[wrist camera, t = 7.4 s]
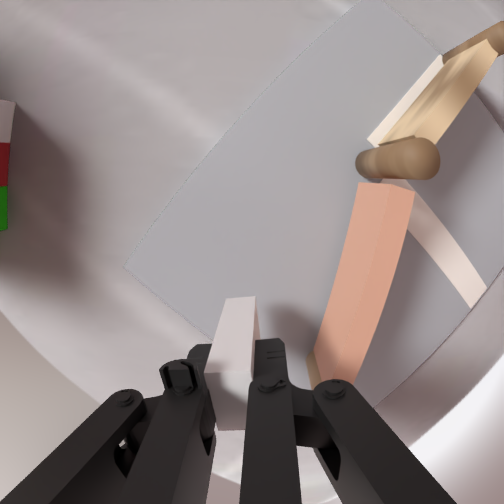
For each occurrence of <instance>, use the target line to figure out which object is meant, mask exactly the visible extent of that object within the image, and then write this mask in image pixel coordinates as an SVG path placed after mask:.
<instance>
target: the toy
mask: <svg viewBox="0 0 504 504" xmlns="http://www.w3.org/2000/svg"><path fill="white" fill-rule="evenodd" d="M15 104H16V103H15V102H11V101H6V100H1V99H0V231H1V230H5V229H8V226H7V183H8V164H9V151H10V139H11V131H12V123H13V117H14V110H15Z"/></svg>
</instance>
